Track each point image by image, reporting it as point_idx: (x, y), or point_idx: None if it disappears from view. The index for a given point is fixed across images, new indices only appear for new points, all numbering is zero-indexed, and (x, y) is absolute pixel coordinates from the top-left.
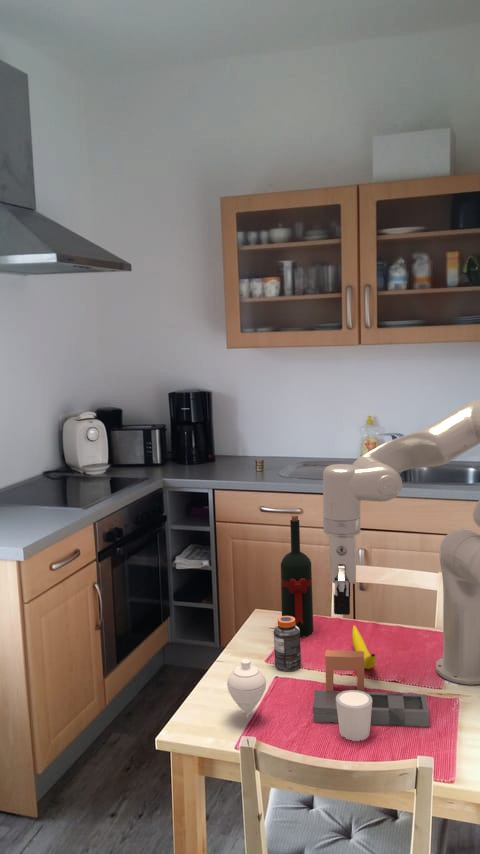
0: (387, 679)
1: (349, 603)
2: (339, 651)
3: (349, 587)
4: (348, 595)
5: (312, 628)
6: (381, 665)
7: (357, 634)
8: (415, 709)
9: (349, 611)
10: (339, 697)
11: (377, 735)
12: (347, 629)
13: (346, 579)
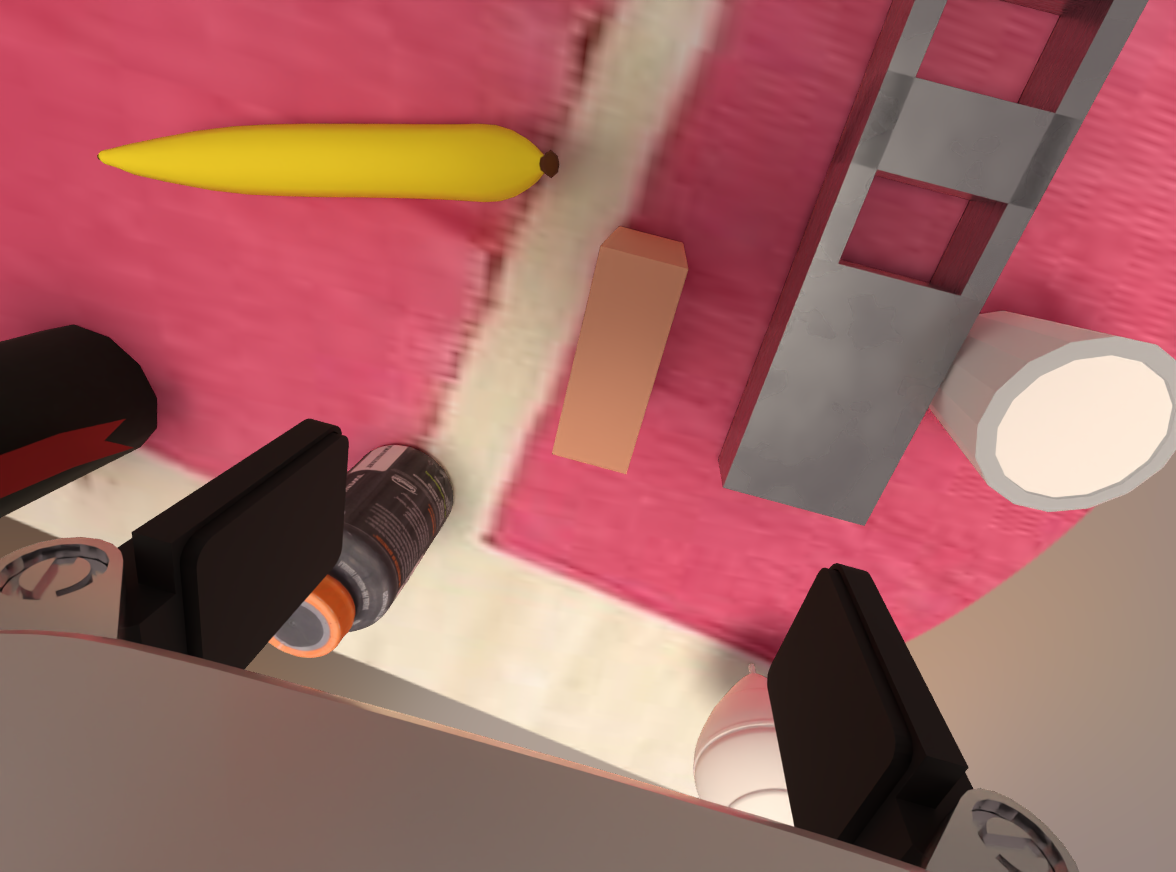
0: (562, 80)
1: (912, 666)
2: (579, 389)
3: (278, 487)
4: (1059, 841)
5: (76, 338)
6: (410, 70)
7: (195, 160)
8: (1094, 45)
9: (876, 592)
10: (1027, 490)
11: (1047, 283)
12: (19, 152)
13: (179, 587)
